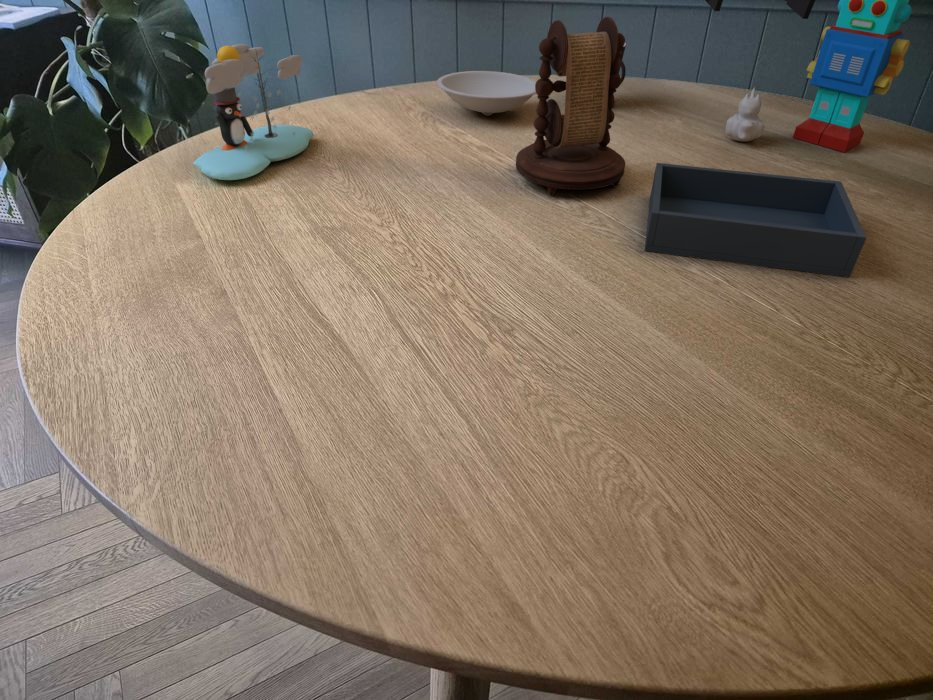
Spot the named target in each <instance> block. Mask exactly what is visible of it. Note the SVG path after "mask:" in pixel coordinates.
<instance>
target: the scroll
mask: <svg viewBox="0 0 933 700" xmlns="http://www.w3.org/2000/svg"><path fill="white" fill-rule="evenodd" d="M625 43H626V38H625V36H624V35H623V33H621V32H619V30H618V27H617V24H616V22H615V20H614V19H613V17H611V16H605V17H603V18H601V20H600V21H599V22H598V25H597V27H596V32H593V31H592V32H581V33H568V32H567V28H566V26H565V24H564V22H562V21H561V20H559V19H556V20H554V21H553V22H552V23H551V25H550V27H549V29H548V32H547V37H545V38H542V40H541V41H540V43H538V44H539V45H538V51H539V52H540V54H541V56H539V60H541V61H542V62H541V64H540V67H539V70H538V76H539V79H537V80H536V84H535V91H536V94H535V95H537V96H536V98H537V99H538V103H537V106H536V109H535V112H536V114H537V116H536V117H535V119H534V120H533V127H534V129H535V130H536V131H535V132H534V136H536V138H535V140H534V142H533V143H531V144H529V145H527V146H525V147H523V148H522V149H521V150H519V152H518V153H517V154H516V157H515V169H516V171H517V173H518V174H519V175H520V176H522V178H525V179H526V180H528V181H530V182H532V183H534V184H538V185H541V186H544V187H547V192H548V195H549V196H550V197H553V196H554V195H555V194H556V190H557V189H561V190H571V191H581V190H582V191H584V190H585V191H586V190H594V189H595V190H596V189H600V188H605V187H608V186H611V185H612V186H613V187H614V188H617V187H618V186H619V184H620V183H621V179H622V178H623V177H624V174H625V169H626V160H625V159H624V157H623V156H622V155H621V154H620V153H619V152H617V151H615V150H614V149H613V148H611V147H610V146H608V145H609V144H610V142H611V135H610V129H612V128H613V127H612V125H611V123H612V122H613V121H614V120H615V112H614V110H613V109H614V107H615V104H616V103H615V93H616V92H617V90H618V89H619V88H620V86H621V85H620V83H621V75H620V73H619V74H618V73H617V72H618V70H619V68H620V69H621V67H620V61H619V55H621V54H622V52H621V51H620V49H621V48H623V46H624V44H625ZM552 70H553V71H554V72H555V74H556V76H557V77H561V78H562V77H565V80H561V79H557V80H554V82H553V81H552V80H551V79H549V78H550V77H551V75H552ZM621 84H622V83H621ZM564 91H565V97H564V98H565V100H564V114H562V112H561V108H560V106H559V104H558V102H557V101H556V100H555V99H554V98H550V95H551V94H552V93H554V92H555V93H562V92H564ZM613 93H614V94H613Z"/></svg>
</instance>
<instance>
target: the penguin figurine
mask: <svg viewBox="0 0 933 700" xmlns="http://www.w3.org/2000/svg"><path fill="white" fill-rule="evenodd" d="M264 54H265V50H264V47H262V46H257V47H249V45H248V44H247V43H237V44H233V45H223V46H222V47H220V48H219V49H218V51H217V55H216V56H217V57H216V58H215V59H214V60H213V61H212V62H211V65H210V66H208V67H206V68H205V70H204V77H205V82H206V83H205V88H206V92H207V93H208V94H211V95H214V98H215V99H214V100H213V104H214V106H213V107H212V109H213V110H214V111H216V112H215V113H216V115H215V119H216V120H215V122H214V123H215V126H218V125H219V130H220V134H221V138H222V140H223V142H224V144H223V146H219V147H216V148H213V149H211V150H208V151H206V152H204V153H203V154H202V155H200V156H199V157H197V158H196V159H195V160H194V161H193V163H192V165H193V166H195V167H196V168H198V169H199V170H201V172H202V173H203V174H204V175H205V176H206V177H209V178H211V179H214V180H220V181H221V180H223V181H237V180H238V181H239V180H244V179H248V178H251V177H253V176H255V175H258V174H259V173H261V172H262V171H264V170H265V169H266V168H267V167H268V166H269V165H270V164H271V162H279V161H283V160H288V159H290V158H292V157H295V156H297V155H299V154H300V153H302V152H303V151H305V150H306V149H307V148H308V146H309V142H310V140H311V139H312V138H313V137H314V131H313V130H312V129H311V128H307V127H304V126H299V125H292V124H275V122H274V121H275V120H276V118H275V116H271V117H270V114H271V113H270V109H269V108H268V103H267V99H269V98H270V99H272V96H273V94H272V91H271V92H270V91H268V88H266V85H267V84H266V83H267V82H269V80H268V79H265V80H264V81H263V77H262V75H263V73H261V69H262V68H261V62H260V58H265V56H264ZM302 64H303V58H302V57H301V55H299V54H293V55H289V56H288V57H284V58H282V59H280V60H278V61H277V64H276V68H277V69H279V70H278V71H277V78H278V79H279V80H280V81H283V80H285V79H288V78H290V77H295V76H297V75H299V74H300V73H301V66H302ZM270 70H271V71H272V68H270V69H267V70H266V72H267V71H270ZM262 71H263V72H265V71H264V70H262ZM257 74H259V81H260V84H261V85H258V83H257V82H256V81H257V80H256V78H254V79H253V80H254V82H255V83H256V84H255V85H258V88H260V89H261V90H262V92H261V95H262V100H263V105H264V114H265V118H266V122H267V125H264V126H260V127H256V128H254V129H252V127H251V125H250V123H249V121H248V119H247V117H246V116H245V115H244V114H242V113H241V111H242V109H243V105H242V104H240V103H239V101H240V99H241V97H242V92H241V91H239V90H238V91H237V92H236V87H238V86H240V84H241V82H243V81H244V78H246V77H252V76H254V75H257ZM265 89H267V90H266V91H265ZM267 91H268V93H267ZM281 93H282V92H281V88H280V89H277V90H276V94H278V96H281ZM266 94H267V95H266ZM252 99H253V101H254V102H256V104H255V107H256V109H260V108H261V105H260V104H261V103H260V102H259V103H258V101H257V100H259V99H258V97H257V96H256V94H254V97H252ZM287 105H288V106H287V112H290V111H291V110H292V108H291V107H292V105H290V104H287ZM258 114H259V113H258V112H257V110H254V112H253V114H251V116H250V120H254V118H255V117H257V115H258ZM272 123H273V124H272Z"/></svg>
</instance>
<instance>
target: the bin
mask: <svg viewBox="0 0 933 700" xmlns="http://www.w3.org/2000/svg"><path fill="white" fill-rule="evenodd" d="M648 203H649V205H648V212H647V213H648V214H647V223H646V233H645V242H644V252H648V253H649V252H650V253H656V254H657V253H658V254H664V255H673V256H679V257H680V256H681V257H688V258H695V259H703V260H712V261H719V262H726V263H735V264H743V265H751V266H759V267H765V268H766V267H768V268H773V269H781V270H790V271H796V272H797V271H798V272H805V273H812V274H821V275H829V276H837V277H842V278H843V277H844V278H850V277H851V275H852V273H853V270H854V268H855V266H856V264H857V261H858V259H859V256H860V254H861V251H862V249H863V247H864V245H865V242H866V240H867V235H866V233H865V231H864V229H863V227H862V225H861V223H860V219H859V218H858V216H857V213H856V211H855V209H854V206H853V204H852V202H851V200H850V198H849V196H848V194H847V192H846V189H845V186H844V183H843V182H842V181H840V180H830V179H819V178H809V177H801V176H791V175H779V174H770V173H762V172H761V173H760V172H751V171H742V170H741V171H740V170H731V169H721V168H711V167H703V166H692V165H684V164H683V165H681V164H673V163H662V162H656V165H655V169H654V175H653V180H652V185H651V190H650V196H649V202H648Z"/></svg>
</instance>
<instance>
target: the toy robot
mask: <svg viewBox="0 0 933 700" xmlns="http://www.w3.org/2000/svg"><path fill="white" fill-rule="evenodd" d="M909 3H910V0H839V1H838V3H837V12H839V14H838V17H837V19H836V23H835V24H834V25H831V26H829V25H827V26H826V27H825V28H823V31H822V32H821V36H820V41H821V42H822V43H821V46H820V49H819V51H818V53H817V57H816V58H815V60H812V61H811V62H809V63H808V66H807V68H806V72H808V73H807V76H806V78H807V79H810V82H809V85H811V86H815V87H818V90H817V93H816V96H815V99H814V102H813V105H812V108H811V110H810V114H809V117H808V119H806V120H804V121H803V122H801V123H799V124H798V125H796V126H795V129H794V132H793V135H792V138H793V139H794V140H795V139H796V140H799V141H803V142H806V143H810V144H812V145H817V146H820V147H823V148H827V149H831V150H834V151H837V152H842V153H845V152H847V151H849V150H851V149H853V148H855V147H856V146H858V145H860V144H861V142H862V140H863V137H864V134H865V131H864V130H863V128H862V126H861V122H862V120H863V117H864V113H865V111H866V109H867V105H868V104H869V103H868V102H869V100H870V98H871V96H874V95H875V94H878V95H882V96H885V95H886V94H887V93H888V91H889V90H890V87H891V85H892V82H893V80H894V78H895V77H898V76H899V75H900V73H901V72H902V70H903V68H904V65H905V61H904V59H905V55H906V53H907V52H908V49H909V47H910V44H911V42H910V40H909V39H904V36H905V34H904V33H903V30H901V29H900V26H901V24H902V23H904V22H906V21H907V20H908V19H909V17H911V15H912V7H911V5H910V4H909Z"/></svg>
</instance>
